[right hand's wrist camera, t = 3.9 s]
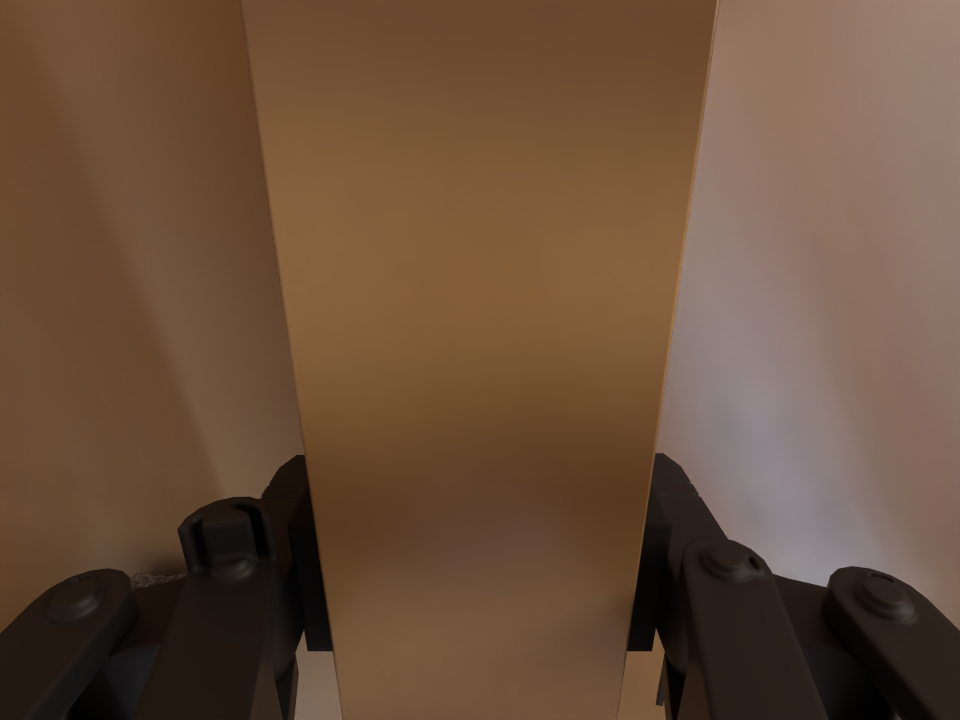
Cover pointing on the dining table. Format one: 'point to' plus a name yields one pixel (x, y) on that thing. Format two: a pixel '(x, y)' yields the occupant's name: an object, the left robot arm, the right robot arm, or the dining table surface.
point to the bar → (479, 327)
